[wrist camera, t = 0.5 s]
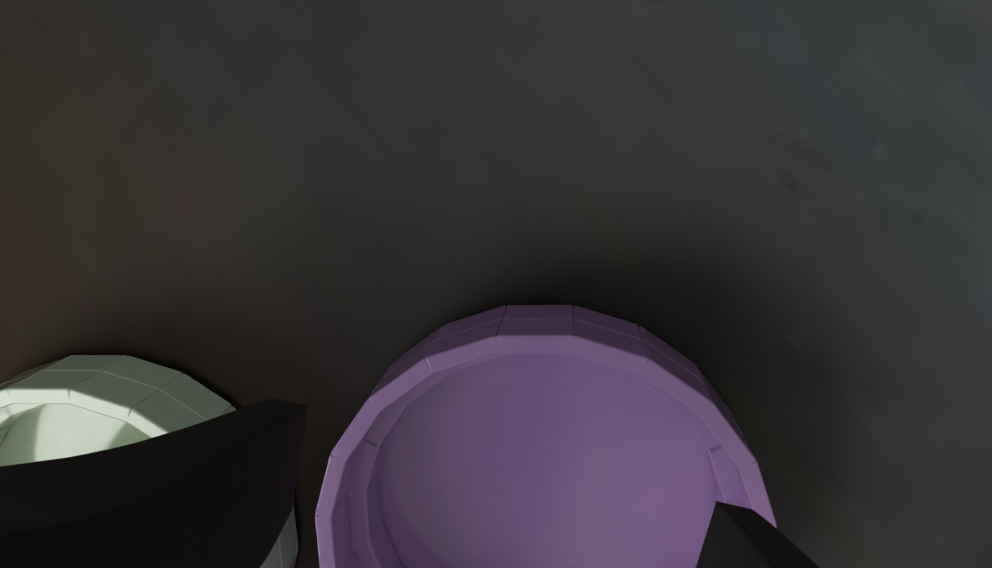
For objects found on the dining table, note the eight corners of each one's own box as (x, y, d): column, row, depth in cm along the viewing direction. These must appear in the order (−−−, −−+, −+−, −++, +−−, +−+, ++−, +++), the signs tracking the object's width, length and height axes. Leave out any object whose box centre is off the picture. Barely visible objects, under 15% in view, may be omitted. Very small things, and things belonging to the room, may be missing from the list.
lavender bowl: (667, 705, 25) (681, 796, 22) (314, 593, 25) (276, 666, 22) (810, 372, 22) (852, 420, 19) (403, 248, 22) (374, 274, 19)
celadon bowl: (262, 702, 27) (222, 780, 24) (-44, 603, 27) (-123, 667, 24) (334, 414, 24) (299, 460, 21) (-11, 306, 24) (-97, 336, 21)
